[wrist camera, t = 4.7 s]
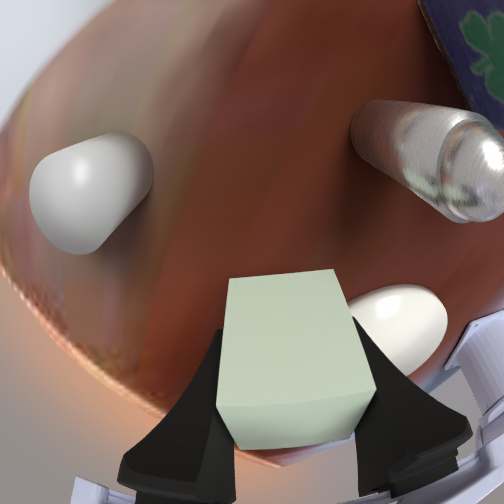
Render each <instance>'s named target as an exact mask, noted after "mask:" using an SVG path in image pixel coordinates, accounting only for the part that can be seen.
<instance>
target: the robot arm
mask: <svg viewBox="0 0 504 504" xmlns="http://www.w3.org/2000/svg"><path fill="white" fill-rule="evenodd" d="M352 318H353V321H354V324H355V327H356V329H357V332H358V335H359V338H360V341H361V344H362V346H363V349H364V352H365V355H366V358H367V361H368V364H369V367H370V370H371V373H372V377H373V380H374V383H375V386H376V391H375V393H374V395H373V397H372V399H371V401H370V402H369V404H368V406H367V408H366V410H365V412H364V414H363V415H362V417H361V419H360V421H359V422H358V424H357V426H356V428H355V429H354V433H355V441H356V450H357V463H358V491H359V497H362V496H366V495H370V494H374V493H377V492H378V494H376V495H372V496H368V497H365V498H361V499H357V500H352V501H348V502H343V503H338V504H389V503H392V502H394V501H398V500H399V501H398V502H397V503H396V504H476V503H477V502H478V501H480V500H481V499H482V498H484V497H485V496H486V495H487V494H489V493H490V492H491V491H492V490H494V489H495V488H496V487H498V486H499V485H500V484H501V483H502V482H504V310H502V311H499V312H496V313H494V314H491V315H489V316H486V317H483V318H480V319H478V320H475V321H472V322H471V323H470V324H469V325H468V327H467V329H466V331H465V333H464V334H463V336H462V338H461V340H460V342H459V343H458V345H457V347H456V348H455V350H454V352H453V354H452V355H451V357H450V358H449V360H448V362H447V363H446V365H445V366H444V369H445V370H449V369H451V368H454V367H456V366H459V365H460V367H461V369H462V371H463V373H464V375H465V377H466V379H467V381H468V383H469V386H470V388H471V390H472V392H473V394H474V397H475V399H476V401H477V404H478V406H479V408H480V411H481V413H482V416H483V417H481V418H480V419H479V423H480V425H479V426H478V429H477V433H476V437H475V446H476V452H474V453H472V454H470V455H469V456H467V457H465V458H463V459H462V460H460V461H458V462H457V461H456V457H455V456H457V455H458V451H457V448H458V447H459V446H460V445H462V444H463V443H465V442H466V441H467V440H469V439H470V438H471V437H472V435H473V432H472V429H471V426H470V424H469V421H468V419H467V417H466V416H464V415H462V414H460V413H458V412H456V411H454V410H452V409H450V408H448V407H447V406H445V405H443V404H442V403H440V402H438V401H437V400H436V399H434V398H433V397H432V396H430V395H429V394H427V393H426V392H425V391H423V390H422V389H421V388H419V387H418V386H417V385H416V384H415V383H413V382H412V381H411V380H410V379H409V378H408V377H406V376H405V375H404V374H403V373H402V372H401V371H400V370H399V369H398V368H397V367H396V366H395V365H394V364H393V363H392V362H391V361H390V360H389V359H388V357H387V356H386V355H385V354H384V353H383V352H382V351H381V350H380V348H379V347H378V346H377V345H376V344H375V343H374V341H373V340H372V339H371V338H370V336H369V335H368V334H367V333H366V331H365V330H364V329H363V327H362V326H361V325H360V324H359V322H358V321H357V320H356V318H355V317H354V316H352ZM223 331H224V329H218V330H217V331H216V332H215V335H214V337H213V340H212V342H211V344H210V347H209V349H208V351H207V353H206V355H205V357H204V359H203V361H202V363H201V365H200V366H199V368H198V370H197V372H196V374H195V375H194V377H193V379H192V380H191V382H190V383H189V385H188V387H187V388H186V390H185V391H184V393H183V394H182V396H181V397H180V398H179V400H178V401H177V402H176V404H175V405H174V406H173V407H172V409H171V410H170V411H169V412H168V414H167V415H166V416H165V417H164V418H163V419H162V420H161V422H160V423H159V424H158V425H157V426H156V427H155V428H154V429H153V430H152V431H151V432H150V433H149V434H148V435H146V437H145V438H143V439H142V440H141V441H140V442H139V443H137V444H136V445H135V446H134V447H132V448H131V449H130V450H129V451H127V452H126V453H125V454H124V455H123V458H122V461H121V464H120V468H119V473H118V478H117V481H118V483H119V484H122V485H123V486H126V487H128V488H131V489H133V490H136V491H137V493H136V497H135V496H131V495H128V494H124V493H121V492H118V491H115V490H111V489H108V488H107V487H105V486H103V485H100V484H98V483H95V482H92V481H90V480H87V479H85V478H82V477H80V476H76V480H75V484H74V488H73V493H72V498H71V503H70V504H232V503H233V502H235V501H236V490H235V469H234V439H233V437H232V435H231V433H230V432H229V430H228V428H227V426H226V424H225V423H224V421H223V419H222V417H221V415H220V413H219V411H218V409H217V407H216V400H217V390H218V379H219V369H220V359H221V350H222V340H223Z"/></svg>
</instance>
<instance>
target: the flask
mask: <svg viewBox="0 0 504 504" xmlns="http://www.w3.org/2000/svg"><path fill="white" fill-rule="evenodd" d="M418 4H419V6H420V8H421V11H422V14H423V16H424V18H425V20H426V22H427V24H428V26H429V29H430V32H431V34H433V37H434V40H435V42H436V44H437V47H438V48H439V50H440V51H441V53H442V56H443V58H444V60H445V61H446V62H447V64H448V67H449V69H450V72H451V74H452V76H453V78H454V80H455V82H456V85H457V87H458V88H459V92H460V94H461V95H462V98H463V99H464V102H465V106H466V108H467V109H468V111H471V112H475V113H478V114H481V115H482V116H484V117H485V118H486V119H488V120H489V121H490V123H491V124H492V125H493V126H494V128H495V129H497V130H501V131H504V0H418Z"/></svg>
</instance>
